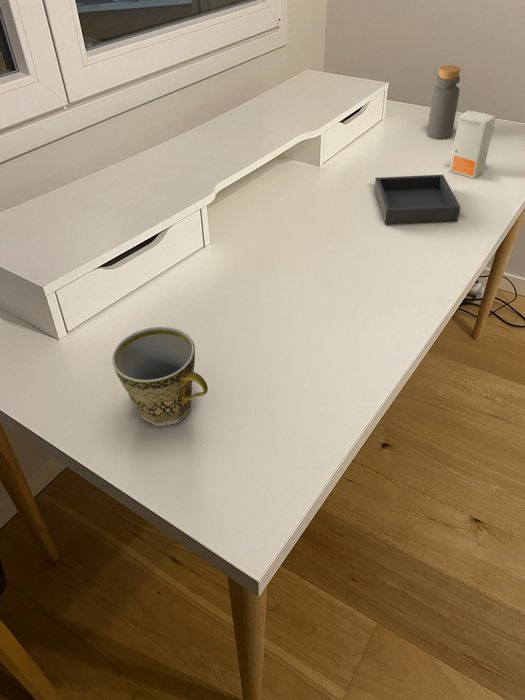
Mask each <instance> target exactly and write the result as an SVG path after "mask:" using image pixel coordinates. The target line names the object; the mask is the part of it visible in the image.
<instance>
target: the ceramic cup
mask: <svg viewBox="0 0 525 700" xmlns="http://www.w3.org/2000/svg"><path fill="white" fill-rule="evenodd" d="M111 361H112V362H111V363H112V367H113V369H114V371H115V374H116V376H117V377H118V379H119V381H120V384H121V385H122V386H123V388H124V389H125V391H126V392H127V393H128V396H129V398H130V400H131V401H132V403H133V405H134V406H135V408H136V411H137V412H138V414H139V415H140V417H141V419H143V420H144V421H145V422H147V423H150V424H151V423H152V424H151V425H153V426H155V427H157V426H162V427H164V426H163V425H168V426H170V425H169V424H174V425H176V424H175V423H178V422H180V421H181V420H182V419H183V418H184V417H185V416H186V415H187V414H188V413H189V412H190V413H191V411H192V400H193V399H195V398H199V397H204V396H205V395H206V394H207V393H208V390H209V387H208V383H207V382H206V380H205V379H204V378H203V376H202V375H201V374H199V373H197V372H195V362H196V345H195V343H194V340H193V339H192V338H191V337H190V336H189V334H187V333H186V332H184V331H182V330H181V329H177V328H174V327H169V326H153V327H147V328H144V329H140V330H137V331H135V332H133V333H131V334H129V335H127V336H126V337H125V338H123V339H122V340H121V341H120V342H119V343H118V344H117V346H116V347H115V348H114V350H113V353H112V359H111ZM193 382H194V383H197V384H198V385H199V386H200V387H201V389H202V391H200V392H195V393H193V394H192V390H193ZM190 413H189V414H190ZM189 414H188V415H189ZM188 415H187V416H188ZM187 416H186V417H187ZM186 417H185V418H186ZM185 418H184V419H185ZM184 419H183V420H184ZM183 420H182V421H183ZM182 421H181V422H182ZM181 422H180V423H181Z"/></svg>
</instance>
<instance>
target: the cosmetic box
mask: <svg viewBox="0 0 525 700" xmlns="http://www.w3.org/2000/svg"><path fill="white" fill-rule="evenodd" d="M495 122H496V116H495V115H492V114H487V113H486V112H485V113H484V112H480V111H479V112H478V111H473V110H470V109H469V110H467V111H465V112H464V113H462V114H460V115H459V117H458V121H457V127H456V133H455V137H454V143H453V149H452V154H451V159H450V165H449V172H451V173H455V174H458V175H461V176H463V177H468V178H470V179H472V180H473V179H476V178H477V177H479V176H480V175H481V174H483V173H484V172H485V167H486V163H487V157H488V153H489V150H490V149H489V148H490V145H491V144H490V143H491V139H492V135H493V131H494V127H495Z"/></svg>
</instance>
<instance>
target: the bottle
mask: <svg viewBox="0 0 525 700" xmlns="http://www.w3.org/2000/svg"><path fill="white" fill-rule="evenodd" d="M461 69H462V68H461V67H459V66H457V65H452V64H451V65H442V66H441V65H440V66H439V68H438V75H437V76H436V78H435V79H436V80H435V82H436V83H438V84H437V85H436V86H434V87H433V90H432V95H431V103H430V108H429V109H430V110H429V115H428V116H429V117H428V123H427V131H426V134H427V136H428V137H429V138H431V139H435V140H447V139H449V138H451V137H452V136H453V132H454V131H453V130H454V126H455V120H456V115H457V109H458V102H459V96H460V88H459V87H458V86H457V85H458V84H459V83H460V82H461V76H459V75H460V72H461Z"/></svg>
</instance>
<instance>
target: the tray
mask: <svg viewBox="0 0 525 700" xmlns="http://www.w3.org/2000/svg"><path fill="white" fill-rule="evenodd" d="M374 195H375V199H376V202H377V205H378V208H379V210H380V211H379V212H380V214H381V216H382V220H383V223H384V226H389V225H392V226H393V225H394V226H395V225H413V224H414V225H417V224H437V223H439V224H441V223H457V222H458V221H459V215H460V212H461V211H460V210H461V205H460V203H459V202H458V200H457V198H456V196H455V195H454V192H453V190H452V189H451V187H450V185H449V183H448V182H447V179H446V177H445V176H444V174H428V175H425V174H424V175H405V176H404V175H403V176H383V177H382V176H381V177H375V179H374Z"/></svg>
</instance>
